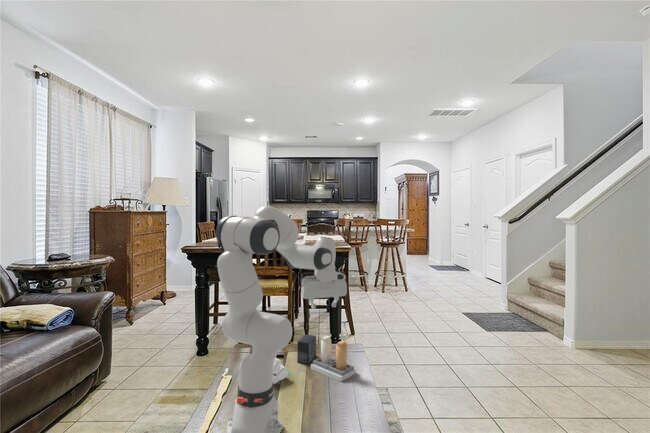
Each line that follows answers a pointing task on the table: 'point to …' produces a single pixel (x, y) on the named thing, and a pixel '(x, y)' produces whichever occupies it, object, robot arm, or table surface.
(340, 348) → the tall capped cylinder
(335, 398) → the table surface
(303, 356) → the small box
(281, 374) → the partial skull model
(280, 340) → the robot arm
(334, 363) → the grey base with column
